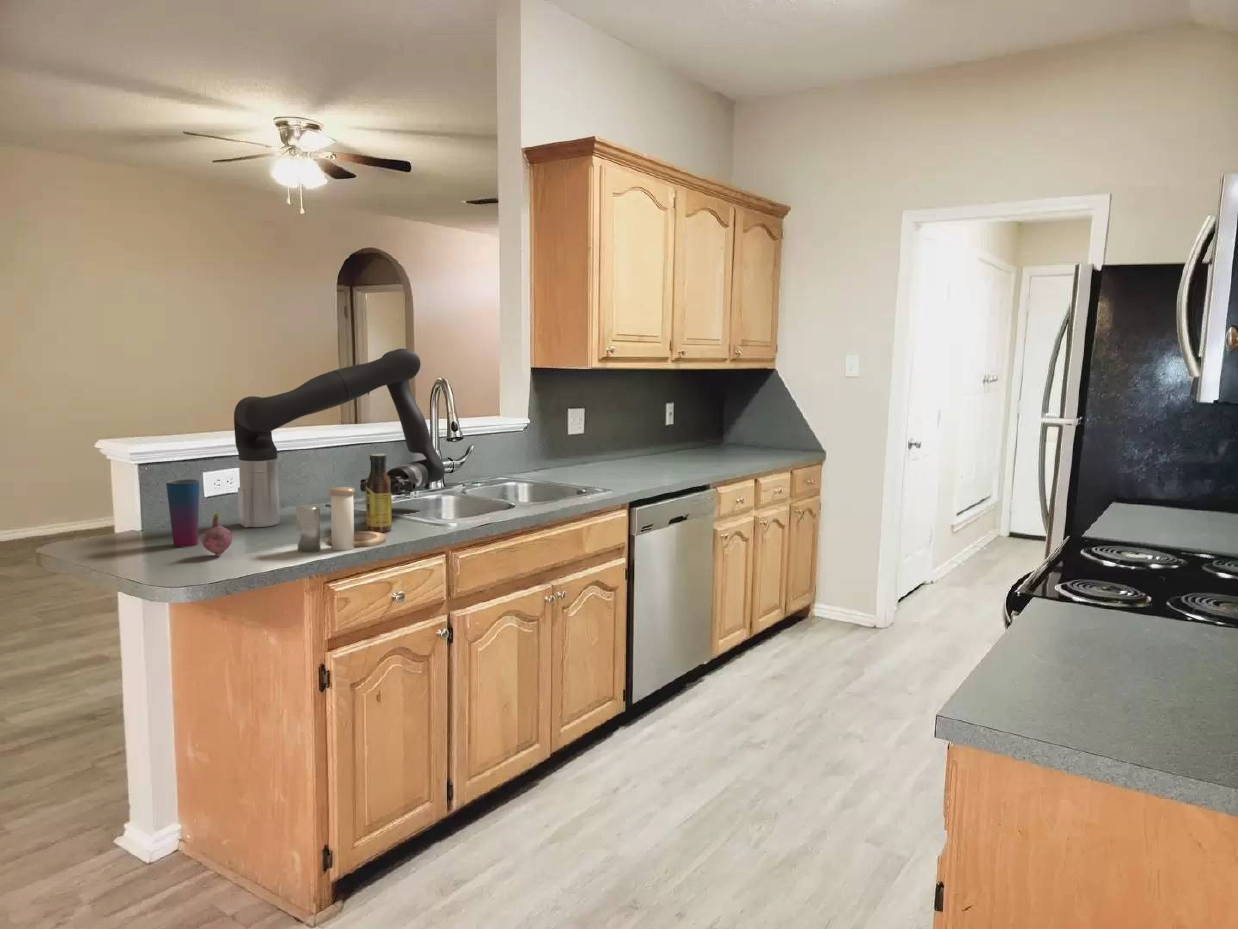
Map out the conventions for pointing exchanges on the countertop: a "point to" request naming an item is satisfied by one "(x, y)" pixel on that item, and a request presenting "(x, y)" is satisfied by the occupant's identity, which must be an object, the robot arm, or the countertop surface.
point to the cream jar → (342, 518)
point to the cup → (184, 510)
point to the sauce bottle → (378, 496)
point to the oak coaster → (366, 538)
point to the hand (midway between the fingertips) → (378, 488)
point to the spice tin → (308, 528)
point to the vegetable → (217, 538)
